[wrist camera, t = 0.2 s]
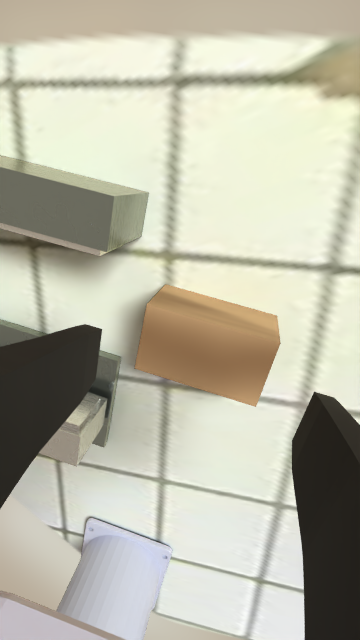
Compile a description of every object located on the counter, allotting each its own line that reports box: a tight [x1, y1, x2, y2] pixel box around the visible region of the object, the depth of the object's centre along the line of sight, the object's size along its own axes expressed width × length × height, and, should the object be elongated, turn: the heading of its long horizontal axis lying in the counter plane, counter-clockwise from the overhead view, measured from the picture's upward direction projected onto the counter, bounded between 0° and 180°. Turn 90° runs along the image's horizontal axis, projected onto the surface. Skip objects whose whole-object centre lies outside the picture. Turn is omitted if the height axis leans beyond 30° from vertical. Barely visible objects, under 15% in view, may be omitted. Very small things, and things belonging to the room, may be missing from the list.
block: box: [135, 284, 280, 407], centre depth 20 cm, size 4×7×4 cm, turn 78°
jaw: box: [39, 392, 107, 467], centre depth 23 cm, size 3×11×4 cm, turn 78°
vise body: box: [0, 155, 149, 447], centre depth 22 cm, size 21×13×5 cm, turn 168°
